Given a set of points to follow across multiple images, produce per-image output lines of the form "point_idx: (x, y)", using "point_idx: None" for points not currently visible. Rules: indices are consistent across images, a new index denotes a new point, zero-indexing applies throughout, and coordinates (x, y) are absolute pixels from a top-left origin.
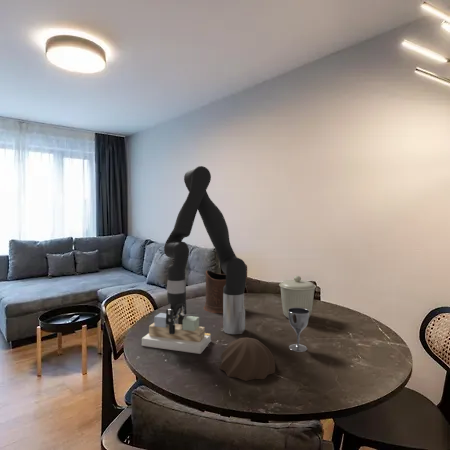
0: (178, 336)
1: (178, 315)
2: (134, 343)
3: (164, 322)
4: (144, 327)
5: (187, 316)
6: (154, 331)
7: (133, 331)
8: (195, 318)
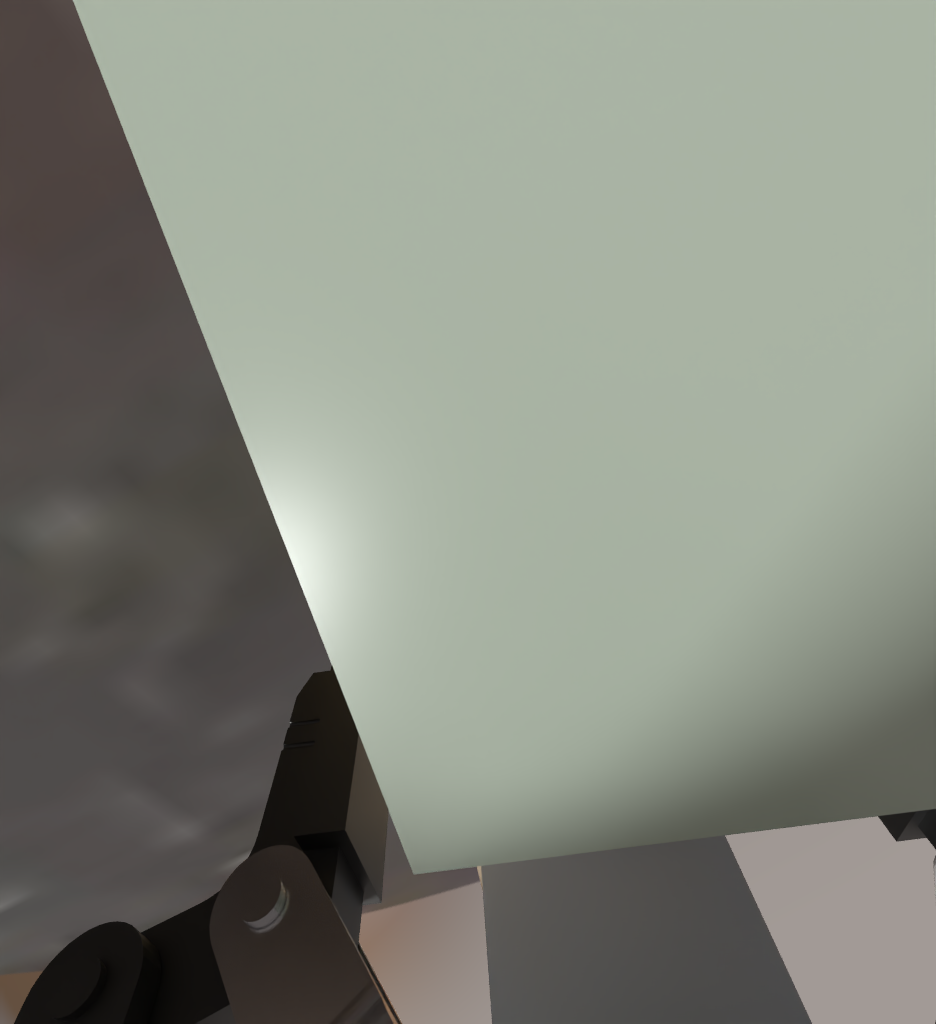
0: None
1: (379, 981)
2: None
3: (751, 919)
4: None
5: (522, 838)
6: None
7: (441, 887)
8: (867, 64)
